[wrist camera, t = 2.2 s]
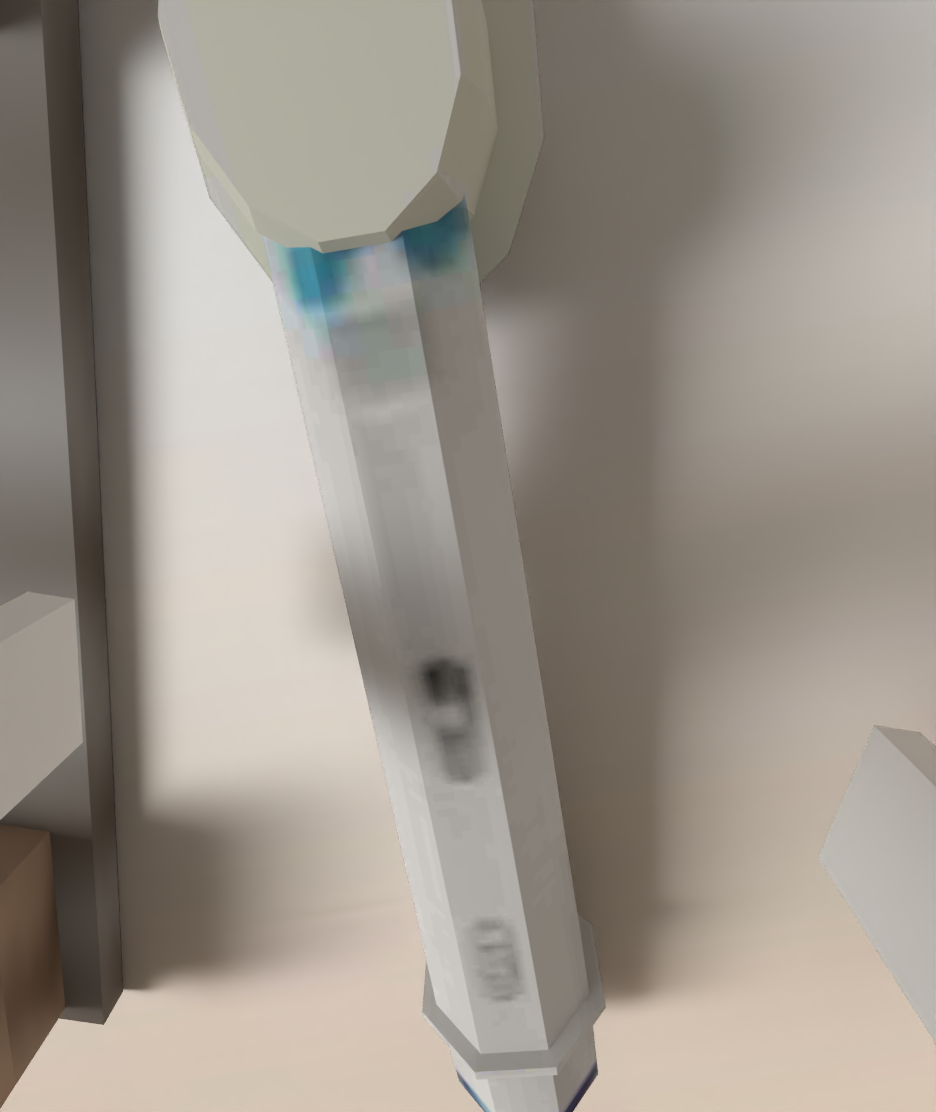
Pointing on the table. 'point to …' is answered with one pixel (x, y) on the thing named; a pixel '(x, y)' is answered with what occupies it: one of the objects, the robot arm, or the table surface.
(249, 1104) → the table surface
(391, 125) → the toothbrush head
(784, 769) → the table surface
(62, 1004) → the cradle
